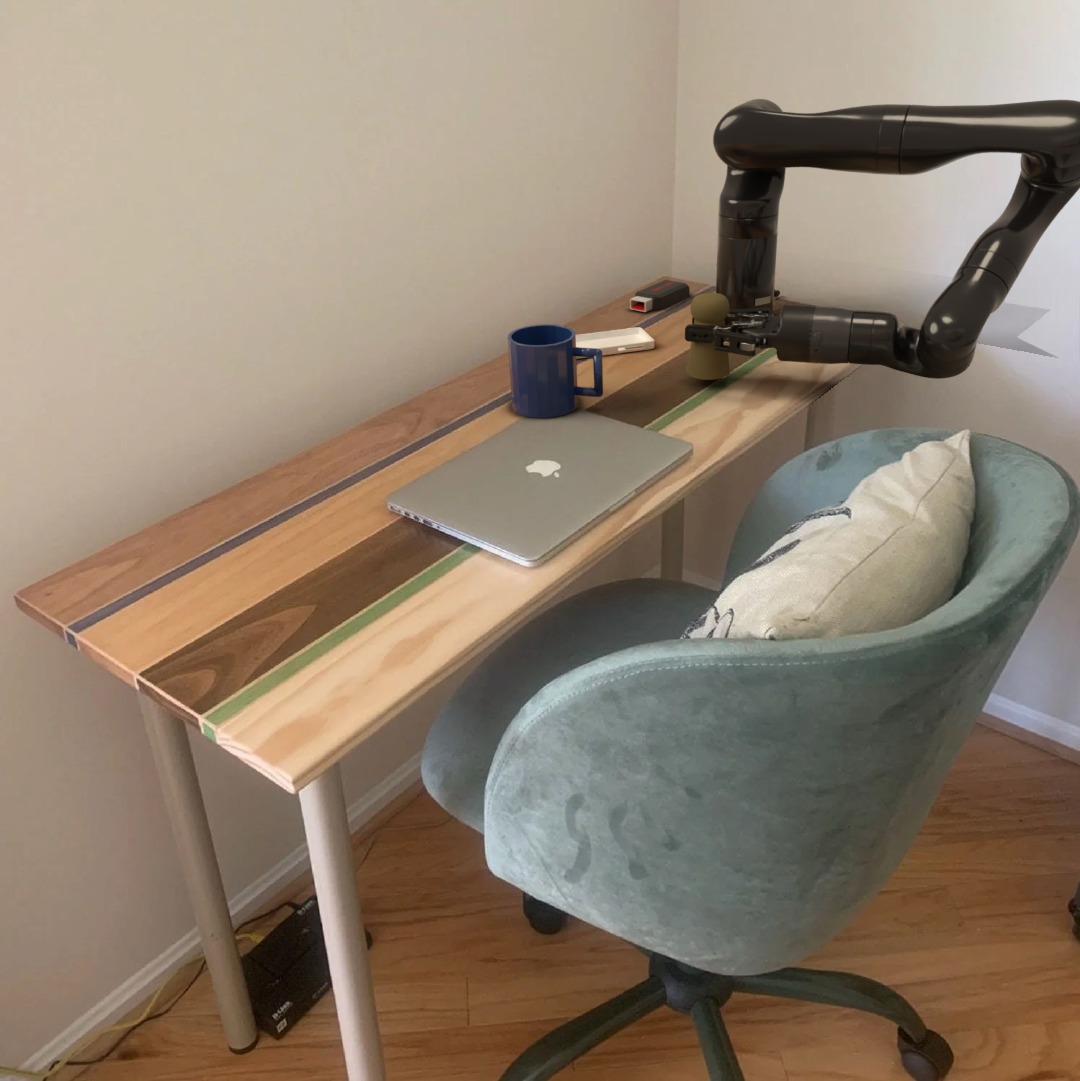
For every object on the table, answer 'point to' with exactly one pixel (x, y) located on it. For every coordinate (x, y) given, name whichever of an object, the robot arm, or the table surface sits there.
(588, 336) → the phone case
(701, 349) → the olive pawn figure
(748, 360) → the table surface
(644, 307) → the usb drive
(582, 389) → the mug
